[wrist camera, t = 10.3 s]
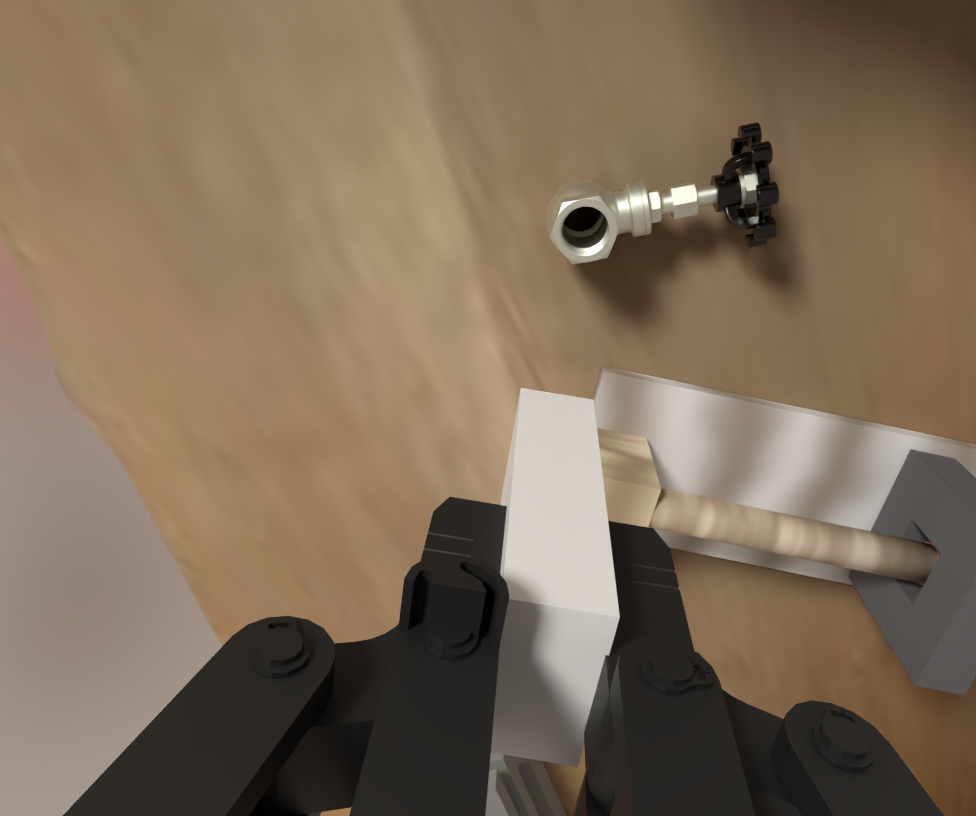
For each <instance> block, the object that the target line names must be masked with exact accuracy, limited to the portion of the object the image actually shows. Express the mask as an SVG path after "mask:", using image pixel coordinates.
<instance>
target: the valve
mask: <svg viewBox="0 0 976 816" xmlns="http://www.w3.org/2000/svg"><path fill="white" fill-rule="evenodd" d="M761 138H762V134H761V127H760V125H759V123H752V124H747V125H742V126H739V128H738V138H733V139H732V140H731V152H732V155H735V156H733V157H732V158H731V159H729V160H728V161H727V162H726V164H725V165H724V167H723V169H722V174H720V175H715V176H712V178H711V186H707V187H702V188H696V187H695V184H694V183H693V182H689V183H684V184H679V185H673V186H668V193H663V194H660V193H659V192H658V190H656V189H653V190H648V191H647V188H646V185H645V182H644V181H637V182H632V183H627V184H626V185H625V190H623V191H618V192H609V191H608V190H607V189H605V188H604V187H602V186H601V185H599V184H596V183H594V182H593V180H587V181H580V182H574V183H571V184H567V185H562V186H560V187H559V190H558V192H557V193H556V194H555V195H554V197H553V198H552V200H551V201H550V203H549V205H548V208H547V212H546V218H545V223H546V229H547V233H548V236H549V238H550V240H551V241H552V243H553V244H554V245H555V246H556V247H557V248H558V249H559V250H560V251H561V252H562V253H563V254H564V255H565V257H566V258H567V259H568V260H569V261H570V262H571V263H572V264H578V263H585V262H591V261H596V260H600V259H605V258H608V256H609V254H610V251H611V249H612V247H613V244H614V242H615V239H616V237H617V235H618V234H622V233H627V232H631V233H632V236H633V237H638V236H643V235H649V234H651V231H652V223H656V222H661V220H662V216H663V215H666V214H671V216H672V217H673V218H674V219H677V218H682V217H687V216H692V215H697V213H698V207H700V206H705V205H710V204H713V206H714V209H715V211H716V212H722V211H724V213H725V217H726V219H727V221H728V222H729V223H730V224H731V225H732V226H734V227H736V228H739V229H750V228H753V234H748V235H745V241H746V245H747V247H748V248H750V247H756V246H761V245H765V244H766V243H767V239H769V238H774V237H775V236H776V222H775V219H774V218H773V217H772V216H771V205H772V204H776V203H777V202H778V200H779V190H778V186H777V184H776V182H771V181H770V176H769V169H768V165H769V164H770V163H771V161H772V147H771V144H770V142H769V141H766V142H761ZM760 142H761V143H760ZM738 168H739V171H735V170H736V169H738ZM752 168H753V171H752ZM756 202H757V206H756ZM580 207H593V208H595V209H598V210H599V211H601V212H600V216H599V219H598V221H597V222H596V224H595V225H594V226H593V227H592V228H590V229H588V230H586V231H581V232H578V231H573V230H571V229H569V228H567V227H566V226H565V225H564V224H563V222H564V220H565V218H566V217H567V216H568V214H569V213H570V212H572V211H573V210H575V209H577V208H580ZM738 208H741V209H738Z"/></svg>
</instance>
